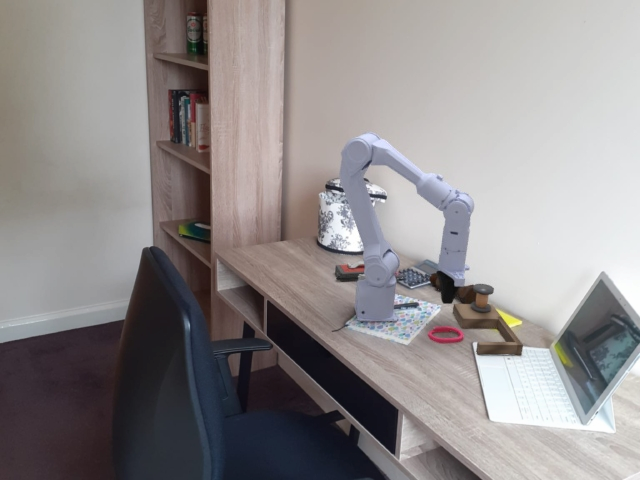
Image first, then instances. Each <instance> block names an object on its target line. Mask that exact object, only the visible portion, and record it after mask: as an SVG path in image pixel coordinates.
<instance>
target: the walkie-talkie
mask: <svg viewBox="0 0 640 480" xmlns="http://www.w3.org/2000/svg"><path fill="white" fill-rule="evenodd" d="M364 269H365V264H364V261H363V260H359V261H356V262H355V263H353V264H351V263H350V262H347V264H336V265H335V270H334V274H335V276H336V277H335V278H336V279H335V280H337V281H340V282H355V281H356V282H357V281H359V280H364V279H366V278H365V275H364ZM394 275H395V278H396V280H397V279H398V278H401V279H403V278H407V274H394ZM402 277H403V278H402Z"/></svg>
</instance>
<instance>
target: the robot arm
mask: <svg viewBox="0 0 640 480" xmlns="http://www.w3.org/2000/svg"><path fill="white" fill-rule="evenodd" d="M340 156H341V161H340V162H341V163H340V166H339V167H340V169H339V174H338V175H339V176H338V177H339V181H340V184H341V187H342V189H343V192H344V195H345V198H346V201H347V203H348V204H347V205H348V206H349V209H350V212H351V214H352V217H353V221H354V223H355V226H356V229H357V232H358V234H359V238H360V240H361V243H362V246H363V255H362V261H364V264H365V269H364V275H365V278H366V279H364V280H359V281H356V287H355V299H354V311H355V314H356V317H357V321H358V322H387V321H388V322H389V323H390V321H396V322H397V321H398V318H397V315H396V313H395V311H394V309H395V300H396V289H397V287H396V286H397V279H396V278H395V275H396V274H395V273H396V272H397V271H398V270H399V269H400V266H401V260H400V257H399V256H398V254H397V253H396V252H395V251H394V250H393V248H392V246H391V244H390V242H388V241H387V240H386V238H385V237H384V233H383V231H382V228H381V225H380V222H379V218H378V216H377V214H376V211H375V207H374V205H373V202H372V199H371V195H370V193H369V190H368V187H367V184H366V182H365V179H364V176H365V175H366V173H367V171H368V169H369V167H370V166H387V168H389V169H391V170H392V171H394V172H395V173H397V174H398V175H399V176H401V177H403V178H404V179H406V180H407V181H408V182H410V183H411V184H413V185H414V186H415V188H416V194H417V195H418V196H420V197H421V198H423V199H424V200H425V201H426V202H427V203H429V204H430V205H432V206H433V207H434V208H436V209H437V210H438V211H441V212H442V214H443V217H444V219H445V220H444V226H443V229H442V230H443V231H442V239H441V245H440V252H439V253H440V254H439V256H438V262H437V269H438V270H437V271H436V272H435V273H437V276H438V279H439V282H440V289H441V291H440V298H441V302H442V304H448V305H449V304H450V305H451V304H453V302H454V300H455V298H456V293H457V291H458V289H459V287H460V286H462V287H464V286H465V282H466V278H465V272H466V271H470V266H469V265H468V264H466V258H467V252H468V245H469V238H470V232H471V230H470V226H471V215H472V214H473V212H474V209H475V203H474V200H473V198H472V197H471V196H470V195H469V193H467V192H463V191H461V189H459V188H454V187H453V186H452V185H450V184H449V183H447V182H446V181H445V180H444V179H443V178H444V176H443V175H442V174H441V173H438V174H436V173H434V172H430V173H426V172H424V171H423V170H421V169H420V168H419V167H418V166H416V164H414V162H412V161H410V159H408V158H407V157H406V156H404V154H403V153H401V152H400V151H398V150H397V148H395V147H394V146H392V145H391V144H390V142H388V141H387V140H386V139H384V138H381V137H380V136H379V135H378V134H377V133H374V132H372V131H368V132H364V133H362V134H360V135H359V136H357V137H353V138H350V139H349V140H348V141H347V142H346V144H345V145H344V147H343V149H342V150H341V152H340ZM388 322H387V323H388Z"/></svg>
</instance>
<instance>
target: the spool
mask: <svg viewBox="0 0 640 480" xmlns="http://www.w3.org/2000/svg"><path fill="white" fill-rule="evenodd" d="M473 285H474V287H473V290H474V291H475V292H476V293H477V296H476V302H472V303H471V309H472V310H473V311H476V312H479V313H488V312H490V311H491V306H490V305H489V304H490V303H488V302H489V296H490V295H493V293H494V290H495V288H494V287H493V286H491V285H489V284H486V283H475V284H473Z"/></svg>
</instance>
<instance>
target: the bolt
mask: <svg viewBox="0 0 640 480" xmlns="http://www.w3.org/2000/svg"><path fill="white" fill-rule="evenodd" d="M428 280H429V283H431V284H432V285H434V286H435V288H436V289H437V290H438V291H440V292H441V289H440V282H439V279H438V276H437V273H436V272H433V273H430V276H429V279H428ZM474 285H475V284H468V285H464V287H462V286H460V287H459V289H458V291H457V293H456V295H455V297H457V298H460V301H461V304H471V303H472V302H476V296H477V293H476V292H475V291H474V290H473V287H474Z"/></svg>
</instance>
